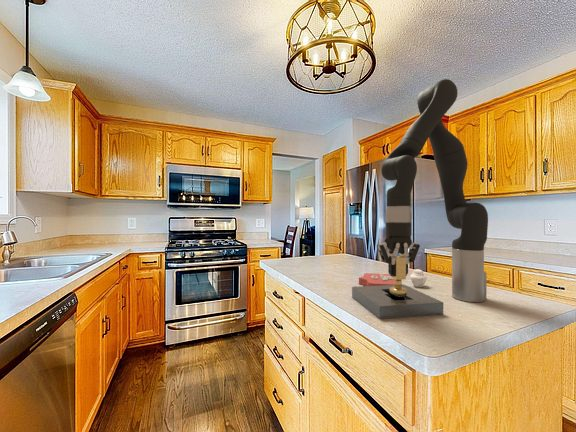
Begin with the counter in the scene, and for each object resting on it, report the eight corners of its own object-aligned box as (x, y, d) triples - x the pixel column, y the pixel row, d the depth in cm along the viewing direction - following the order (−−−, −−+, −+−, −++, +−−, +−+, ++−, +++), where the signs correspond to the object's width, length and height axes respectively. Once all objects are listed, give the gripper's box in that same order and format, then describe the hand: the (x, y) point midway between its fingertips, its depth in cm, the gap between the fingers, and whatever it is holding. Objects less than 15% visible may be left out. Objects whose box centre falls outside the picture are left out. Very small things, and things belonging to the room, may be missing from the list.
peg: (401, 290, 86) (401, 255, 86) (410, 295, 81) (410, 258, 81) (386, 291, 86) (386, 255, 86) (395, 296, 81) (395, 258, 81)
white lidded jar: (420, 283, 112) (420, 267, 112) (430, 287, 106) (430, 270, 106) (406, 284, 111) (406, 267, 111) (415, 288, 105) (415, 270, 105)
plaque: (357, 271, 121) (391, 272, 118) (357, 280, 121) (391, 281, 118) (361, 281, 103) (401, 283, 101) (361, 291, 103) (401, 293, 101)
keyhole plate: (403, 294, 98) (403, 284, 98) (443, 314, 78) (443, 302, 78) (352, 297, 95) (352, 286, 95) (379, 319, 75) (379, 306, 75)
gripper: (411, 220, 88) (411, 272, 88) (371, 220, 86) (371, 274, 86) (426, 221, 81) (426, 277, 81) (383, 221, 79) (383, 279, 79)
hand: (398, 275), depth 83 cm, fingers closed on peg, 3 cm apart
